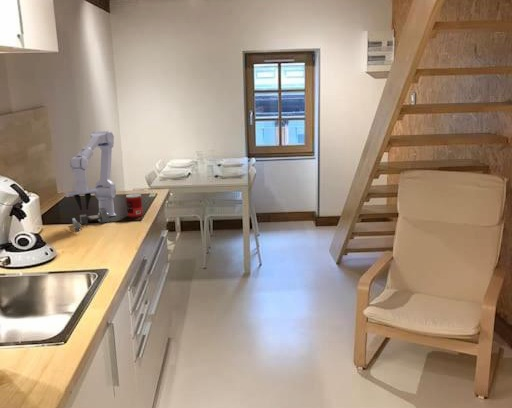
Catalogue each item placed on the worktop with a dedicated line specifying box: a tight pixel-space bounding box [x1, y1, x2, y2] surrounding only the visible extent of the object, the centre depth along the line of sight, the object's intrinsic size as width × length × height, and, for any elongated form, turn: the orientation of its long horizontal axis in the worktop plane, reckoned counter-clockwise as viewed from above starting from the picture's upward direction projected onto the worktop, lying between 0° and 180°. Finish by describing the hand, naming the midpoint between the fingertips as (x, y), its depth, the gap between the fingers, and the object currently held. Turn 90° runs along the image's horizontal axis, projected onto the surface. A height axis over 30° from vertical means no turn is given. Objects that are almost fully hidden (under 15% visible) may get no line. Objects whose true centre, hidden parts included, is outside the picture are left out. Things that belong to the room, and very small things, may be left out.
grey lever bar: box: [71, 217, 81, 230], centre depth 253 cm, size 14×2×3 cm, turn 27°
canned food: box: [125, 193, 144, 218], centre depth 271 cm, size 8×8×11 cm
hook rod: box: [79, 213, 111, 226], centre depth 261 cm, size 4×14×4 cm, turn 117°
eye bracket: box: [97, 207, 111, 224], centre depth 262 cm, size 6×5×6 cm
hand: (83, 209), depth 253 cm, fingers open, 2 cm apart
